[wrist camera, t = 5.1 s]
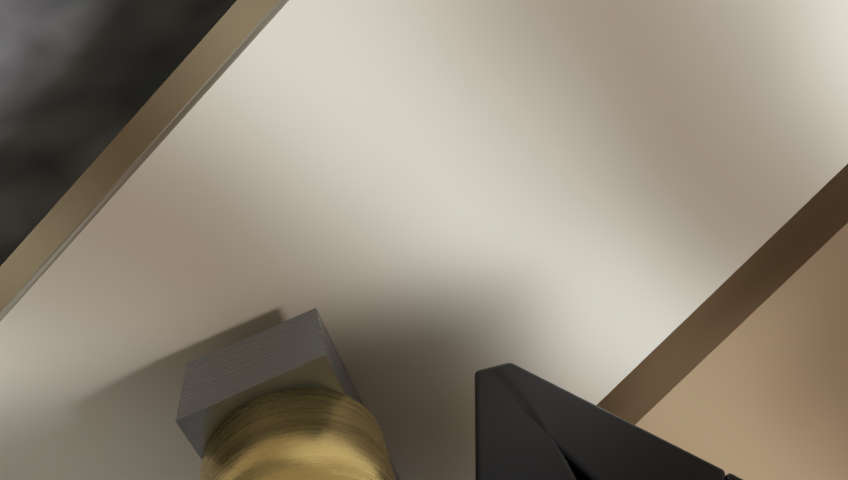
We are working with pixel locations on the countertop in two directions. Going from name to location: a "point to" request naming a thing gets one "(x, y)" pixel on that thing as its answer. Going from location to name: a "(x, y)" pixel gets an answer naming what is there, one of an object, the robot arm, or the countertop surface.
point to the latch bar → (280, 410)
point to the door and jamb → (460, 230)
